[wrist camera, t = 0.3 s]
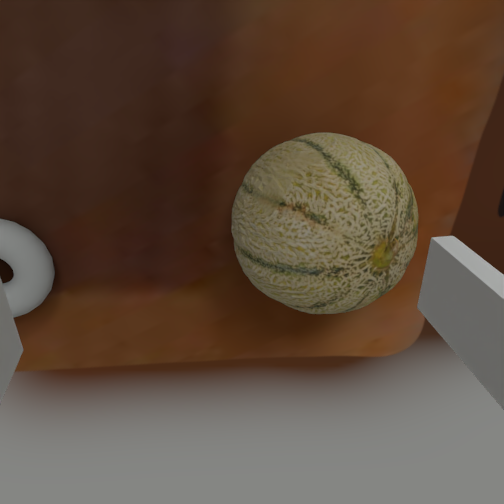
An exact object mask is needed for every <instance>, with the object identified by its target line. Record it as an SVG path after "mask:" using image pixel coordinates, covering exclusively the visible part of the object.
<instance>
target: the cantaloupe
mask: <svg viewBox="0 0 504 504" xmlns="http://www.w3.org/2000/svg"><path fill="white" fill-rule="evenodd" d="M417 234H418V209H417V204H416V200H415V196H414V193H413V190H412V188H411V186H410V185H409V184H408V181H407V179H406V177H405V175H404V173H403V172H402V170H401V168H400V167H399V166H398V165H397V163H396V162H395V161H394V160H393V159H392V158H391V157H390V156H388V155H387V154H386V153H384V152H383V151H381V150H380V149H378V148H376V147H374V146H372V145H370V144H367V143H364V142H361V141H359V140H358V139H356V138H353V137H349V136H345V135H342V134H335V133H313V134H307V135H304V136H300V137H297V138H294V139H292V140H291V141H285V142H284V143H281V144H279V145H277V146H275V147H273V148H271V149H270V150H268V151H267V152H266V153H265V154H263V155H262V156H261V157H260V158H259V159H258V160H257V161H256V162H255V163H254V164H253V165H252V166H251V168H250V170H249V171H248V173H247V174H246V175H245V177H244V180H243V183H242V185H241V186H240V188H239V190H238V192H237V195H236V197H235V200H234V204H233V207H232V235H233V237H234V249H235V252H236V256H237V258H238V261H239V263H240V265H241V267H242V270H243V272H244V273H245V274H246V276H247V277H248V278H249V280H250V281H251V283H252V284H253V285H254V286H255V287H257V289H259V290H260V291H262V292H263V293H264V294H266V295H267V296H268V297H270V298H272V299H275V300H277V301H279V302H281V303H283V304H285V305H286V306H288V307H292V308H293V309H297V310H299V311H302V312H307V313H309V314H335V313H341V312H344V313H345V312H348V311H352V310H356V309H360V308H362V307H364V306H367V305H368V304H370V303H371V302H373V301H374V300H376V299H378V298H379V297H381V296H382V295H384V294H385V293H387V292H388V291H389V290H391V289H392V288H393V287H394V286H395V285H396V284H397V283H398V282H399V280H400V279H401V278H402V276H403V274H404V272H405V270H406V268H407V266H408V264H409V262H410V260H411V258H412V257H413V254H414V251H415V248H416V244H417Z"/></svg>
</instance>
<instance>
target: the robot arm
mask: <svg viewBox="0 0 504 504" xmlns="http://www.w3.org/2000/svg"><path fill="white" fill-rule="evenodd" d="M417 308H418V309H419V310H420V312H421V313H422V314H423V315H424V316H425V317H426V319H427V320H428V321H429V322H430V323H431V325H432V326H433V327H434V328H435V329H436V330H437V332H439V334H440V335H441V336H442V338H443V339H444V340H445V341H446V342H447V343H448V344H449V346H450V347H451V348H452V349H453V351H454V352H455V353H456V354H457V355H458V356H459V358H460V359H461V360H462V361H463V362H464V364H465V365H466V366H467V367H468V368H469V369H470V371H471V372H472V373H473V374H474V375H475V376H476V378H477V379H478V380H479V381H480V382H481V384H482V385H483V386H484V387H485V388H486V389H487V391H488V392H489V393H490V394H491V395H492V397H493V398H494V399H495V400H496V401H497V403H498V404H499V405H500V406H501V407H502V408H503V410H504V275H503V274H502V273H500V272H499V271H498V270H496V269H495V268H494V267H493V266H491V265H490V264H489V263H488V262H486V261H485V260H484V259H482V258H481V257H480V256H479V255H477V254H476V253H475V252H473V251H472V250H471V249H470V248H468V247H467V246H466V245H464V244H463V243H462V242H461V241H459V240H458V239H457V238H455V237H454V236H444V237H433V238H431V242H430V247H429V252H428V257H427V262H426V267H425V272H424V277H423V282H422V286H421V291H420V296H419V301H418V306H417ZM22 352H23V347H22V344H21V341H20V338H19V335H18V331H17V328H16V325H15V322H14V319H13V316H12V312H11V309H10V306H9V303H8V300H7V297H6V293H5V290H4V287H3V284H2V281H1V278H0V404H1V401H2V399H3V397H4V394H5V392H6V390H7V387H8V385H9V383H10V380H11V378H12V375H13V373H14V371H15V368H16V366H17V364H18V361H19V359H20V357H21V354H22Z"/></svg>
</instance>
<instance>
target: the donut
mask: <svg viewBox="0 0 504 504" xmlns="http://www.w3.org/2000/svg"><path fill="white" fill-rule="evenodd" d="M0 259H2V260H4V261H5V262H6V263H8V264H9V265H10V266H11V268H12V269H13V273H14V277H13V279H12V280H11V281H9V282H7V283H2V284H3V287H4V290H5V293H6V297H7V300H8V303H9V306H10V309H11V312H12V316H13V318H14V317H17V316H21V315H24V314H27V313H29V312H30V311H32V310H33V309H35V308H36V307H37V306H39V305H40V304H41V303H42V302H43V301H44V299H45V298H46V296H47V295H48V294H49V292H50V291H51V289H52V284H53V280H54V275H55V271H54V265H53V260H52V257H51V255H50V253H49V251H48V250H47V248H46V246H45V244H44V243H43V242H42V241H41V240H40V239H39V238H38V237H37V236H36V235H35V234H33V233H32V232H31V231H30V230H28V229H26V228H25V227H23V226H21V225H19V224H17V223H15V222H12V221H8V220H4V219H0Z"/></svg>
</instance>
